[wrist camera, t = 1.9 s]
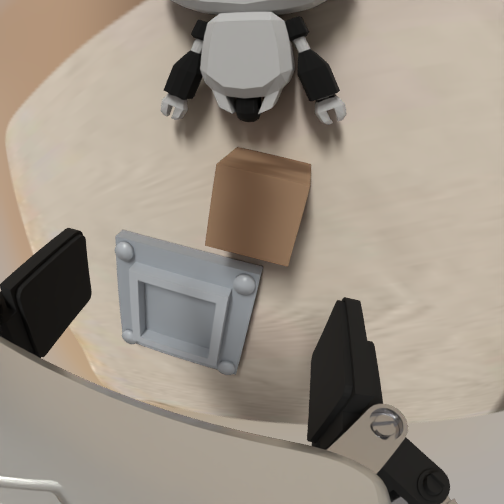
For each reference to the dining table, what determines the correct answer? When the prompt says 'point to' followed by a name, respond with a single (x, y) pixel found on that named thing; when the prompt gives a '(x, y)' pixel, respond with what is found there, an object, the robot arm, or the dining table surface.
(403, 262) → the dining table surface
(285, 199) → the walnut cube
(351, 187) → the dining table surface
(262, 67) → the robot toy
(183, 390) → the dining table surface
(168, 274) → the base plate
